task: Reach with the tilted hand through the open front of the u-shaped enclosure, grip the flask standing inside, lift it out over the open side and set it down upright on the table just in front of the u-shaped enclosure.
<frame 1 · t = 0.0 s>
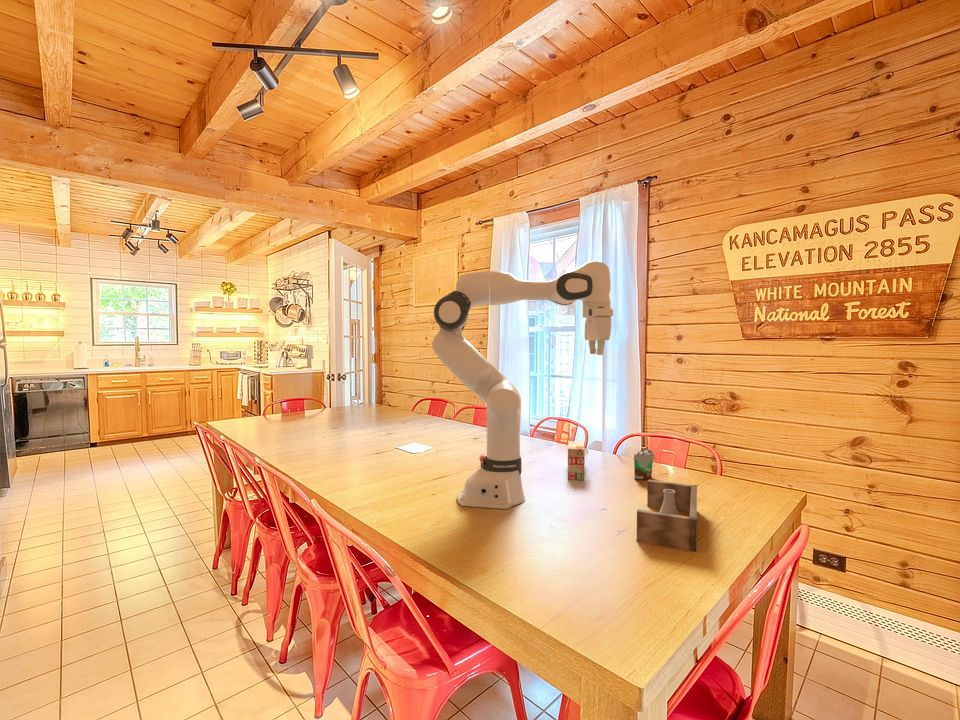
hand: (596, 354, 148), 48 cm above the table, tool pointing down, fingers open, 8 cm apart
food container: (645, 478, 172), on the table
flask: (668, 525, 129), on the table
u-shaped enclosure: (668, 525, 129), on the table
stack of blocks: (575, 472, 180), on the table
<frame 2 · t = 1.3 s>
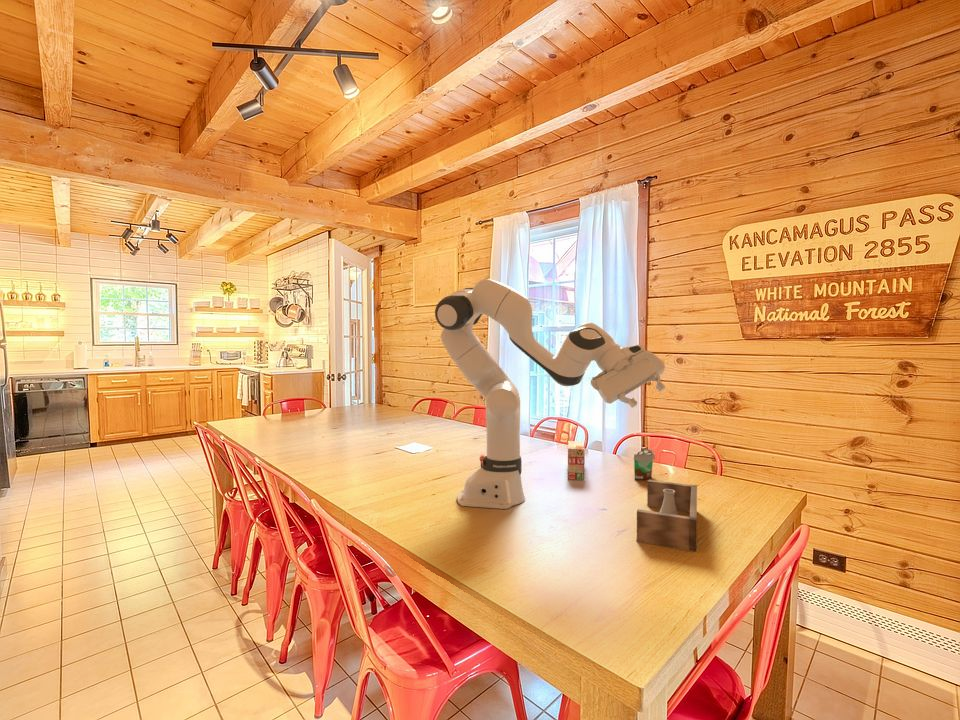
hand: (648, 397, 125), 37 cm above the table, tool tilted 50°, fingers open, 8 cm apart
nothing on the table moved.
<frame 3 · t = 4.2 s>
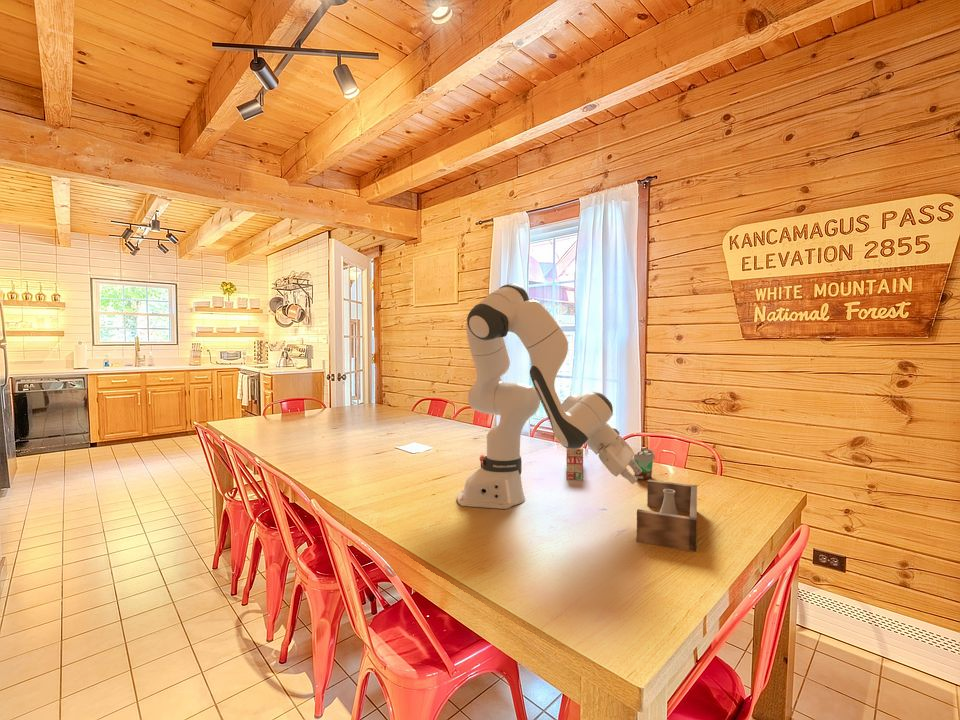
hand: (637, 477, 131), 13 cm above the table, tool tilted 45°, fingers open, 8 cm apart
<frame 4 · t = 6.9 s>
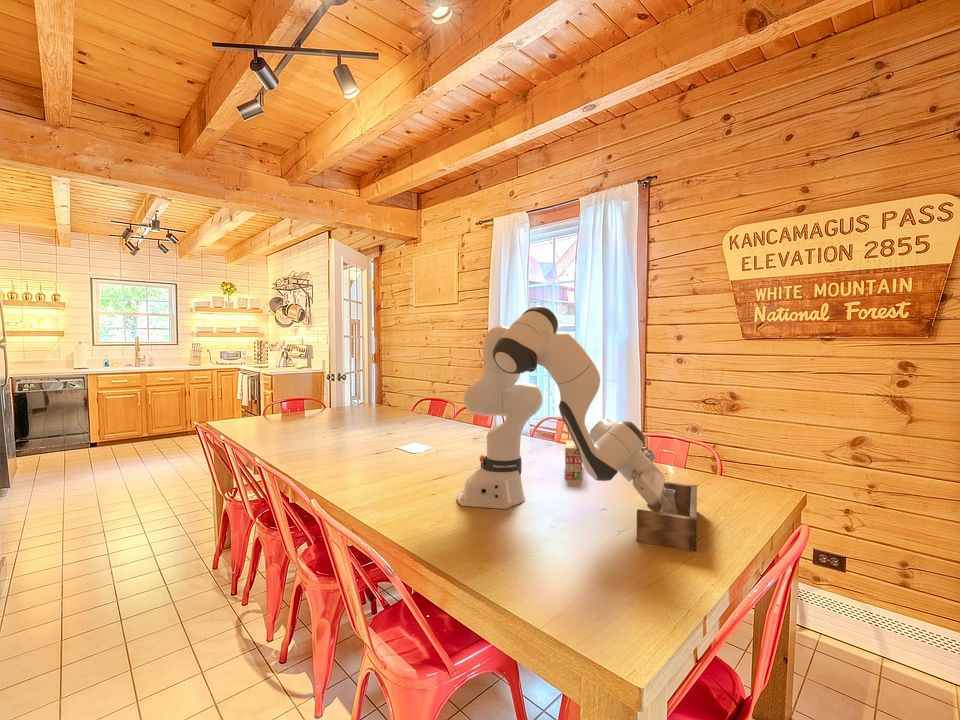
hand: (671, 505, 128), 6 cm above the table, tool tilted 45°, fingers closed on flask, 3 cm apart
flask: (668, 525, 129), on the table, touching gripper
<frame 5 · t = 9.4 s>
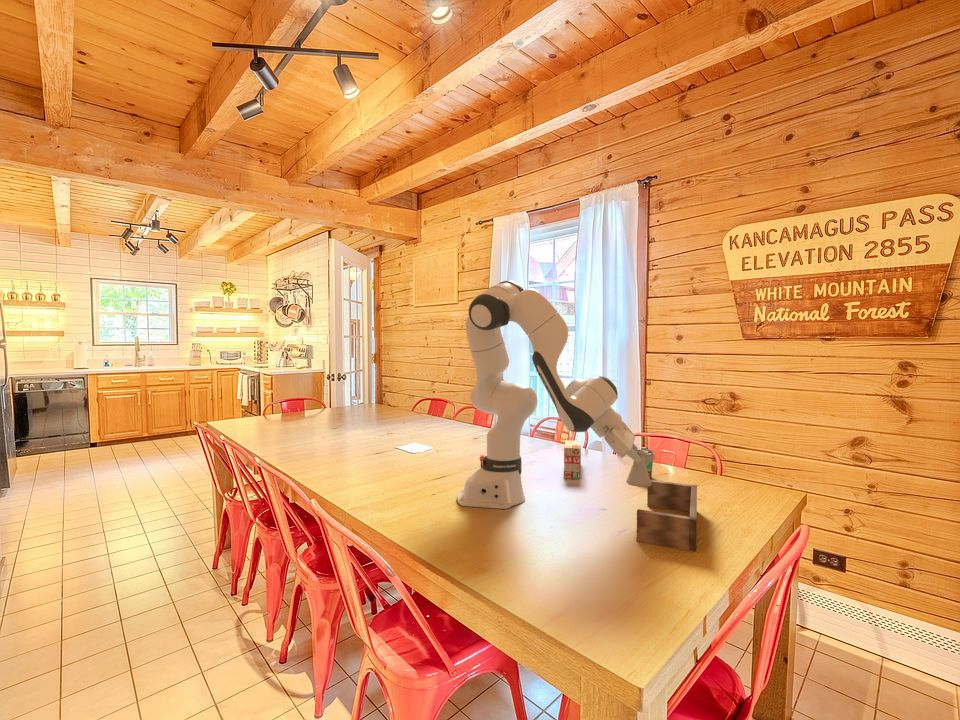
hand: (640, 459, 133), 17 cm above the table, tool tilted 45°, fingers closed on flask, 3 cm apart
flask: (638, 484, 134), point 10 cm above the table, touching gripper
when the fingers open (7 cm above the table, at t = 12.0 s): flask stays where it is, on the table.
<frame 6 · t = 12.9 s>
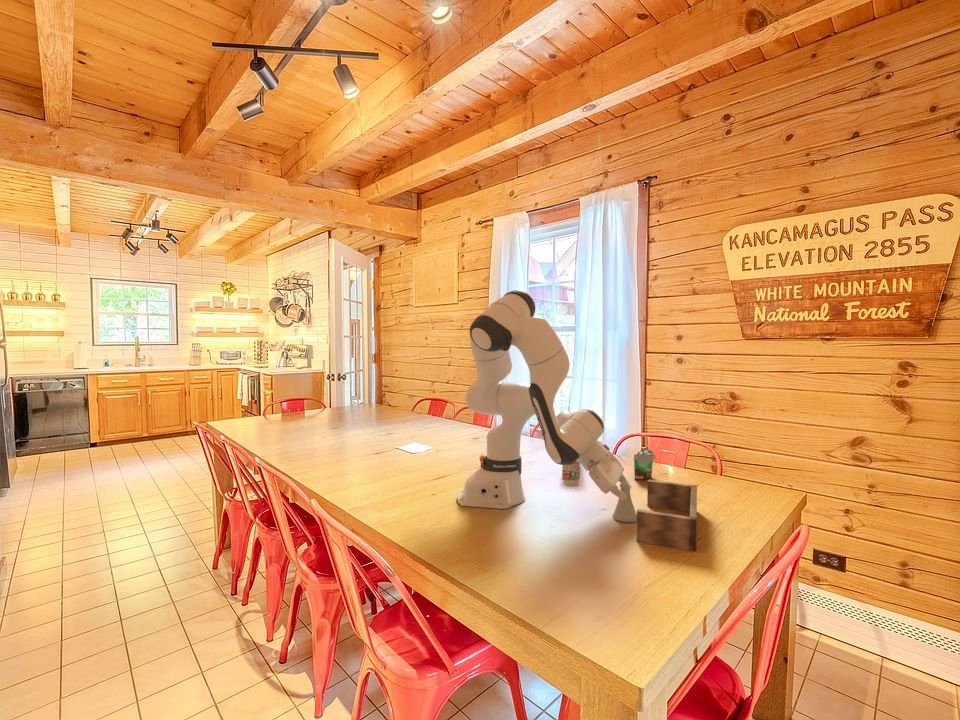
hand: (627, 493, 133), 7 cm above the table, tool tilted 45°, fingers open, 8 cm apart
flask: (625, 519, 134), on the table
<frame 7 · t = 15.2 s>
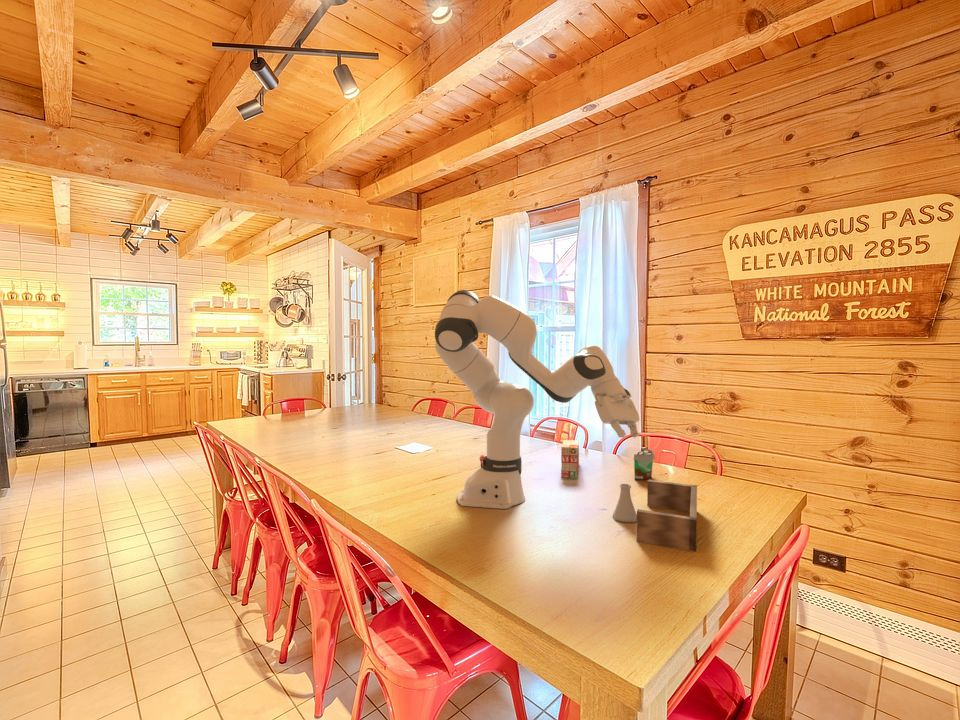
hand: (629, 436, 132), 24 cm above the table, tool tilted 35°, fingers open, 8 cm apart
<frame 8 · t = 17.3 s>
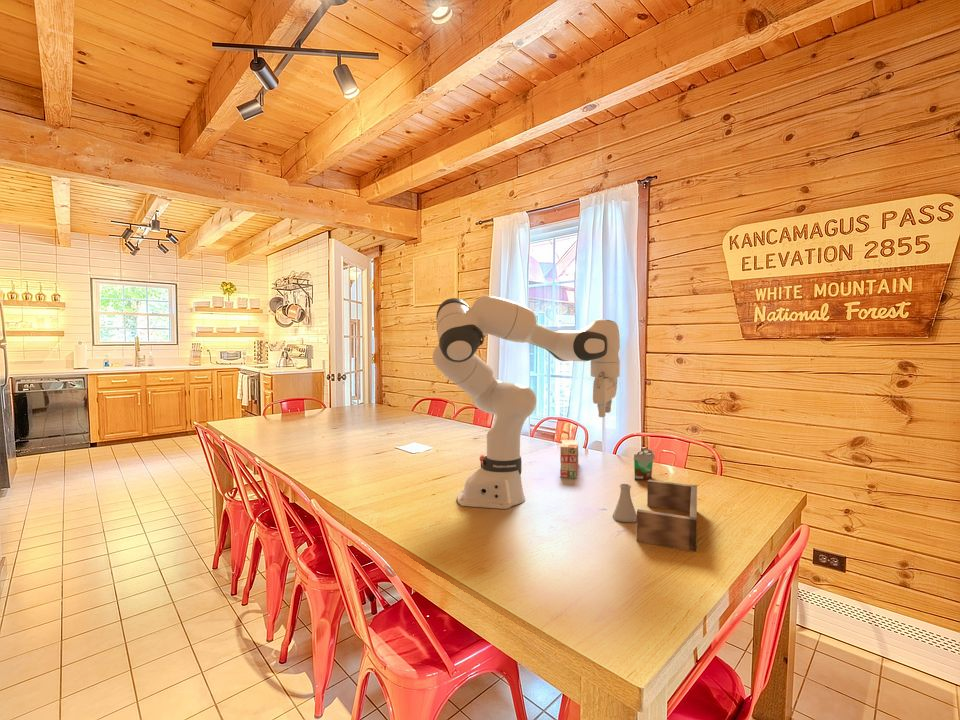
hand: (604, 414, 143), 29 cm above the table, tool pointing down, fingers open, 8 cm apart
at the end: flask inside the target area (1.1 cm from its centre), on the table; flask tilted 0°; the gripper is holding nothing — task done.
